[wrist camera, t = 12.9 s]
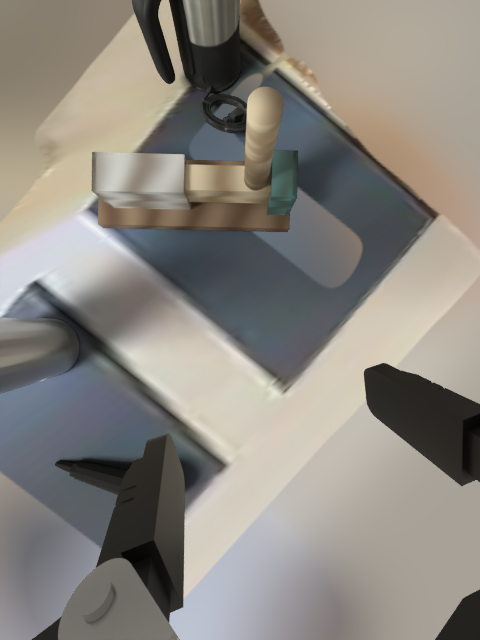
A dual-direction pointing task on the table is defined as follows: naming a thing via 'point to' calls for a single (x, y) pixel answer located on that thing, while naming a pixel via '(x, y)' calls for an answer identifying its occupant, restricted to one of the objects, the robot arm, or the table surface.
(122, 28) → the table surface
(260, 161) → the cream l-shaped piece
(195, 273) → the table surface
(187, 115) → the table surface
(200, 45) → the milk frother
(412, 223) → the table surface
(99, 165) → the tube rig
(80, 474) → the microphone
